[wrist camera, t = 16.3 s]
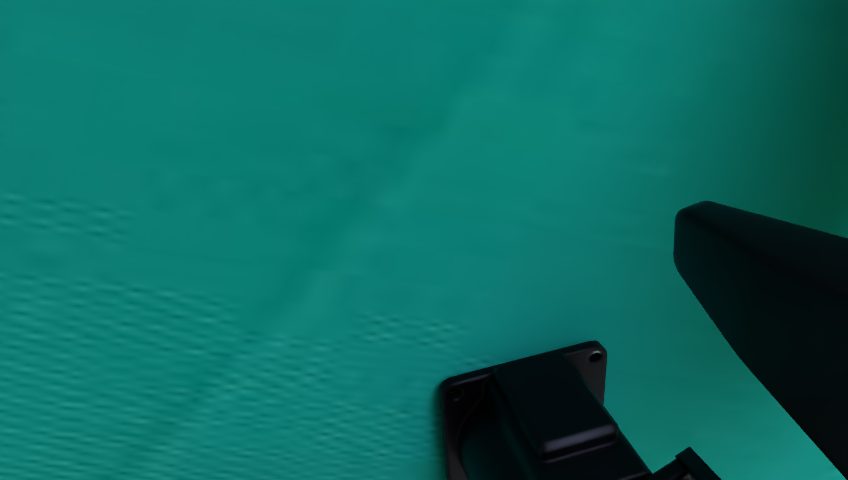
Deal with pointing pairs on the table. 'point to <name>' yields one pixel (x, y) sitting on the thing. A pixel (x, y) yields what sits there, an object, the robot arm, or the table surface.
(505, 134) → the table surface
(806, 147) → the table surface
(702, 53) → the table surface
